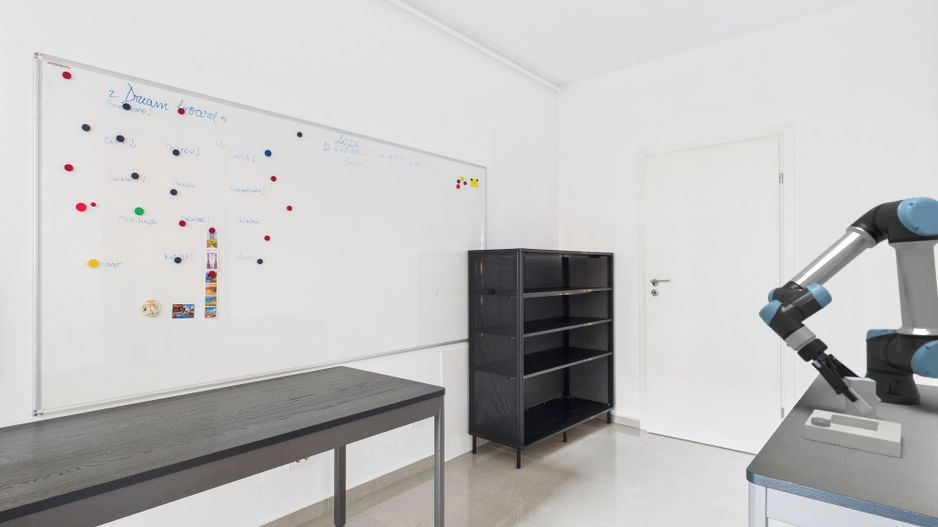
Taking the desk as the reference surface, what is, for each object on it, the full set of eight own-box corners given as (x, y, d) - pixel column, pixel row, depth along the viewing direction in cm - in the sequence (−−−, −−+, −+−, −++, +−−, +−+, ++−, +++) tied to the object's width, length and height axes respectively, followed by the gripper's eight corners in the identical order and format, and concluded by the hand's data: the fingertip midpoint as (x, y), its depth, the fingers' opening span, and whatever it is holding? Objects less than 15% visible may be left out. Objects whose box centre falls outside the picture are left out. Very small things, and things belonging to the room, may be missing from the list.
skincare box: (869, 419, 136) (869, 377, 136) (876, 424, 132) (876, 381, 132) (844, 417, 138) (843, 376, 138) (850, 422, 134) (850, 379, 134)
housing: (814, 421, 134) (814, 405, 134) (901, 437, 121) (901, 419, 121) (804, 438, 121) (804, 419, 121) (900, 458, 108) (900, 437, 108)
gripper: (808, 348, 154) (869, 406, 142) (783, 356, 139) (849, 423, 127) (828, 333, 150) (893, 392, 138) (804, 340, 135) (875, 407, 123)
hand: (872, 407), depth 133 cm, fingers open, 11 cm apart
